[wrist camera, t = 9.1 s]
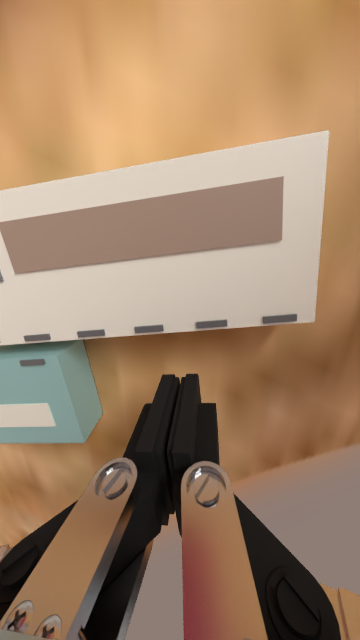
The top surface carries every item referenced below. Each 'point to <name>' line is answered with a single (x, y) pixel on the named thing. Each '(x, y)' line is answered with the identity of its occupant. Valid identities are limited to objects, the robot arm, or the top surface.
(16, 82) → the top surface
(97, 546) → the robot arm
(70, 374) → the stub
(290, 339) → the top surface
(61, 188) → the ticket
